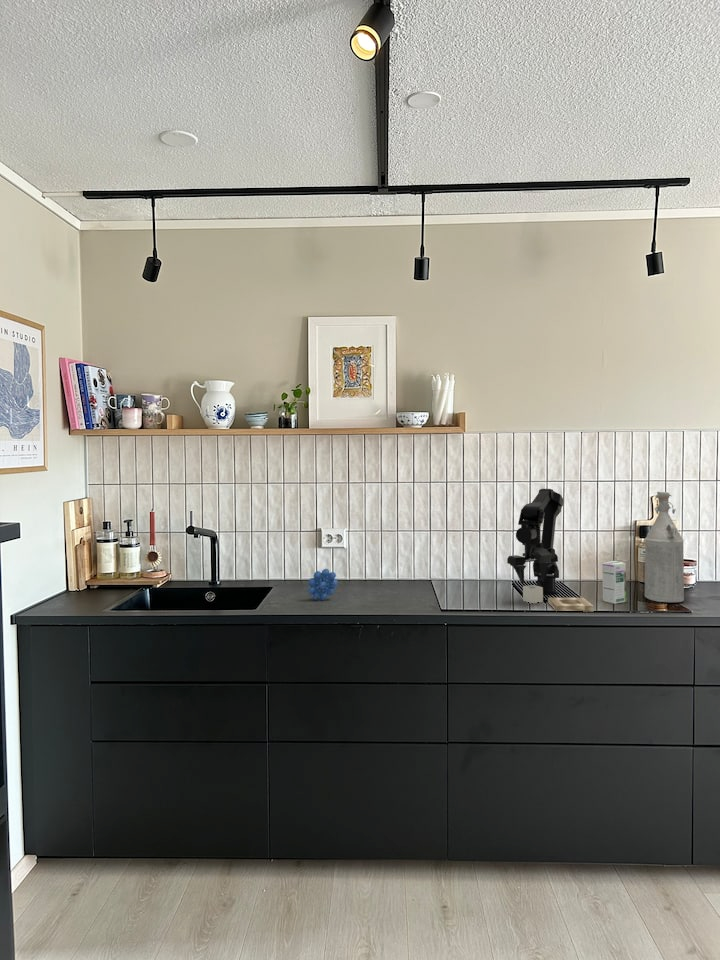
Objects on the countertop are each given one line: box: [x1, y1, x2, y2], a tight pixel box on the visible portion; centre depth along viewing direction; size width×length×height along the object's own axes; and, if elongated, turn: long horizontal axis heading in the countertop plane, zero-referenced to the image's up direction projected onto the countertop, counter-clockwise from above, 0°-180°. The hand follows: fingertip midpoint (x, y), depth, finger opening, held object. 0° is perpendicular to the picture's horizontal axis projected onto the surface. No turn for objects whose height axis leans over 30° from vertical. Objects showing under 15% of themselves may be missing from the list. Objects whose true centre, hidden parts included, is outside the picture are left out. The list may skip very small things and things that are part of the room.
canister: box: [644, 491, 685, 603], centre depth 232 cm, size 13×17×40 cm
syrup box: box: [601, 560, 627, 605], centre depth 230 cm, size 6×6×14 cm
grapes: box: [307, 568, 339, 601], centre depth 241 cm, size 12×7×12 cm, turn 96°
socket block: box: [547, 597, 595, 613], centre depth 222 cm, size 12×12×2 cm
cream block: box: [522, 584, 544, 604], centre depth 232 cm, size 5×5×6 cm
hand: (532, 582), depth 232 cm, fingers open, 9 cm apart
